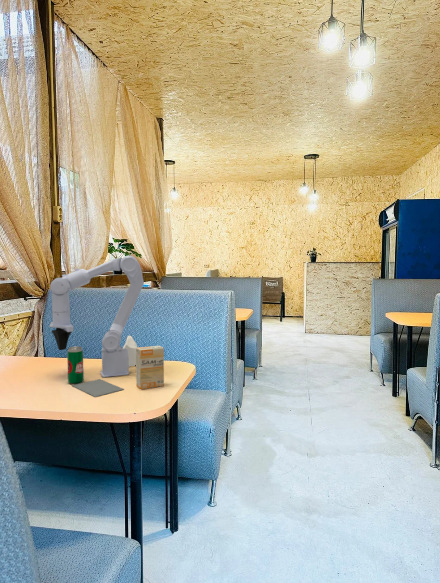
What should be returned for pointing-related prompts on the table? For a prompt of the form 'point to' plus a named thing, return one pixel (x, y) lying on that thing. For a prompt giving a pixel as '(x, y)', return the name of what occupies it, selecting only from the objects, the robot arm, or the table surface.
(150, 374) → the supplement box
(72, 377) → the soda can
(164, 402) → the table surface
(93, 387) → the mat
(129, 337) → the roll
